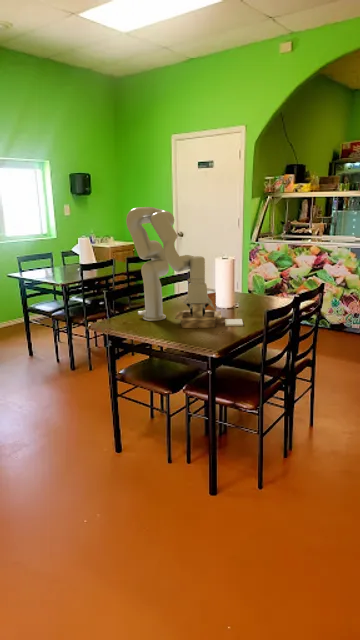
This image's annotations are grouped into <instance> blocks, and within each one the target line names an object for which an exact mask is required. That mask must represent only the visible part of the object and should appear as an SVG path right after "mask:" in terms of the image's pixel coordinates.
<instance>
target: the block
mask: <svg viewBox="0 0 360 640" xmlns="http://www.w3.org/2000/svg"><path fill="white" fill-rule="evenodd" d="M192 307H193V318H203V316H202V309H203V305H202V304H193V306H192Z"/></svg>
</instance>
